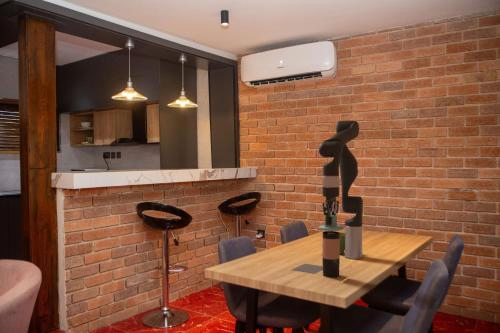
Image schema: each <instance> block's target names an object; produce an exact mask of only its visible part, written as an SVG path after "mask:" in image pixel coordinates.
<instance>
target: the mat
mask: <svg viewBox="0 0 500 333" xmlns="http://www.w3.org/2000/svg"><path fill="white" fill-rule="evenodd" d="M291 271H294V272H299V273H300V272H301V273H307V274H312V275H313V274H314V275H315V274H317V273H319V272H321V271H323V265H319V264H310V263H309V264H308V263H303V264H300V265H299V266H296V267H294V268H292V269H291Z"/></svg>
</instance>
